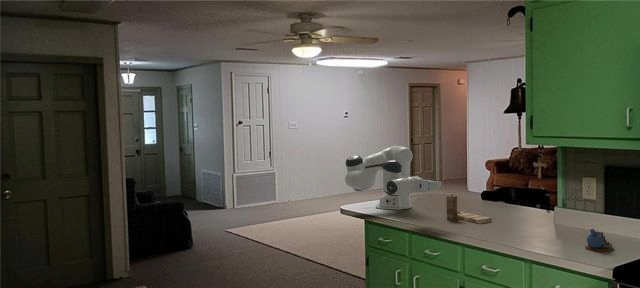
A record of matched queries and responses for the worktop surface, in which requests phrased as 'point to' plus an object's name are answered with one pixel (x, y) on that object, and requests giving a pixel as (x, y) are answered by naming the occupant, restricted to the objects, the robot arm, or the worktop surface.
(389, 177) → the robot arm
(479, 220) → the board
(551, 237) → the worktop surface
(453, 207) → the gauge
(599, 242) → the model
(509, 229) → the worktop surface
